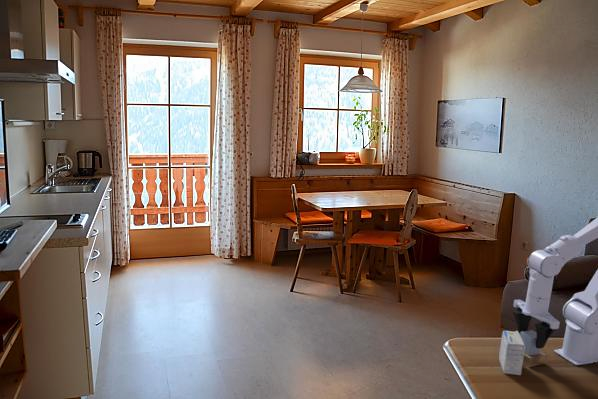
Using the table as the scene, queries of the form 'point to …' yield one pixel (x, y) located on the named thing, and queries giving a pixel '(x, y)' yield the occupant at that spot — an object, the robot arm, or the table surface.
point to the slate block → (530, 342)
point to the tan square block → (534, 359)
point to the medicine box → (511, 352)
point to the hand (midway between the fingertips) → (530, 341)
